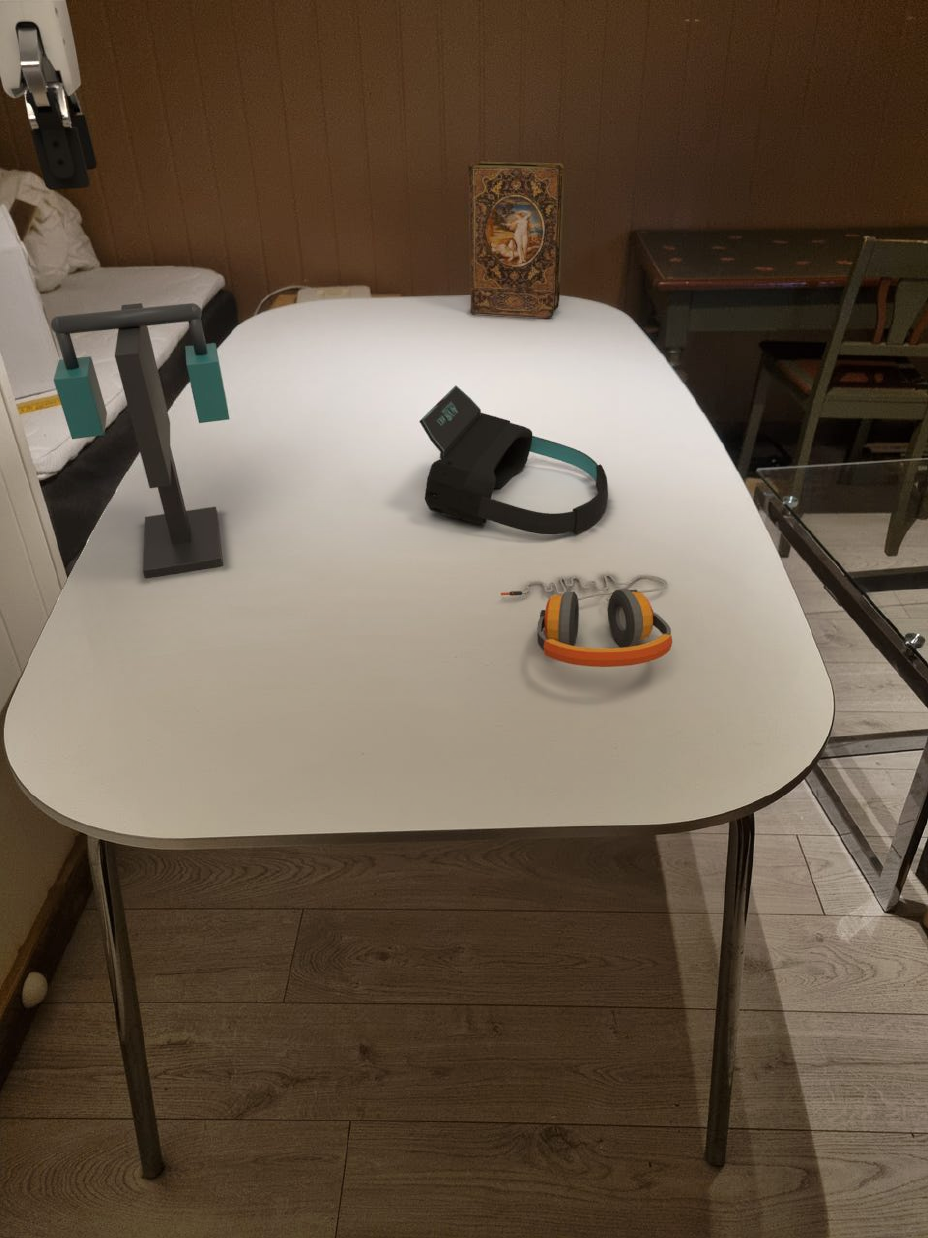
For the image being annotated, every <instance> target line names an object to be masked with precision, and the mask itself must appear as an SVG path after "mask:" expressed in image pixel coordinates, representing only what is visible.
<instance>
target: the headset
mask: <svg viewBox="0 0 928 1238" xmlns="http://www.w3.org/2000/svg"><path fill="white" fill-rule="evenodd" d="M202 314H203V313H202V308H201V307H200V306H199V305H198V304H196V303H193V302H192V303H191V302H190V303H180V304H169V305H162V306H161V305H158V306H150V307H149V306H148V307H143V308H138V309H127V310H121V309H119V310H109V311H98V312H88V313H78V314H77V313H76V314H67V315H58V316H54V317H53V318H52V319H51V320H50V327H51V330H52V331H53V332H54V333H55V337H56V340H57V343H58V346H59V350H60V353H61V357H62V359H61V358H60V359H58V362H57V366H56V369H55V372H54V376H53V384H54V386H55V389H56V393H57V396H58V400H59V402H60V406H61V409H62V412H63V415H64V418H65V421H66V425H67V428H68V430H69V434H70V437H71V439H72V440H78V439H79V440H80V439H86V438H93V437H102V436H103V437H104V436H105V433H106V426H107V425H106V424H107V418H108V410H107V408H106V404H105V401H104V397H103V393H102V390H101V386H100V382H99V380H98V375H97V372H96V369H95V366H94V362H93V358H92V356H91V355H89V356H81V357H77V354H76V351H75V350H76V349H75V348H74V343H73V340H72V337H71V334H80V333H90V332H98V331H111V330H118V329H120V328H130V327H140V326H147V327H149V326H157V325H158V326H159V325H167V324H169V325H170V324H180V323H186V322H187V323H188V328H189V331H190V337H191V340H192V345H185V347H184V349H185V364H186V365H185V366H186V369H187V374H188V379H189V383H190V388H191V392H192V393H191V394H192V398H193V402H194V407H195V411H196V415H197V416H196V417H197V421H198V424H205V423H211V422H221V421H229V420H230V414H229V413H230V412H229V407H228V400H227V396H226V395H227V394H226V390H225V385H224V380H223V373H222V369H221V364H220V359H219V358H220V357H219V354H218V349H217V344H216V342H211V343H210V342H209V343H206V338H205V333H204V328H203V323H202Z"/></svg>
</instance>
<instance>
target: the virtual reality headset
mask: <svg viewBox="0 0 928 1238" xmlns="http://www.w3.org/2000/svg"><path fill="white" fill-rule="evenodd" d="M418 421H419V422H418V423H420V425H421V426H422V428H423V430H424V432H425V433H426V435H427V436H428V438H429V440H430V441H431V443H432V444H433V445H434V446H435V448H437V450H438V451H439V452H440V453H439V459H437V460H435V461H434V462H433V463H432V464H431V466H430V470H429V472H428V474H427V478H426V485H425V493H424V500H425V504H426V506H427V507H428V509H429V511H430V512H431V511H432V512H435V513H438V514H441V515H444V516H447V517H450V518H454V519H457V520H460V521H462V520H463V521H466V522H469V523H472V524H476V525H481V526H482V525H485V524H486V523H487V521H490V522H494V523H496V524H499V525H502V526H506V527H509V528H512V529H515V530H519V531H523V532H526V533H532V534H537V535H548V536H549V535H563V534H570V533H572V534H574V535H576V534H579V533H581V532H584V531H585V530H587V529H590V528H592V527H593V526H595V524H597V523H598V522H599V521H600V520H601V519H602V518H603V515H604V514H605V513H606V509H607V506H608V498H609V485H608V478H607V474H606V471H605V469H604V467H603V465H602V464H598V463H597V462H596V460H594V459H593V458H592V457H591V456H589V455H588V454H586V453H585V452H582V451H581V450H578V449H576V448H574V447H571V446H569V445H565V444H562V443H559V442H555V441H552V440H549V439H546V438H541V437H538V436H536V435H533V431H532V430H531V428H528V427H526V426H523V425H520V424H516V423H513V422H511V420H509V419H505V418H502V417H498V416H495V415H491V414H488V413H484V412H482V409H481V408H480V407H479V405H477V404H476V402H475V401H473V399H472V398H471V397H470V396H469V395H467V394H466V393H465V392H464V391H463V390H462V389H461V388H460V387H459V386H458V385H454V386H453V387H452V388H451V389H450V390H449V391H448V392H447V393H446V394H445V395H444V396H443V397H442V398H441V399H440V400H439V401H438V402H437V403H436V404H435V405H434V406H433V407H431V409H430V410H429V411H428V412H427V413H426V414H425V415H424V416H422V418H421V419H420V420H418ZM530 453H534V454H537V455H540V456H545V457H547V458H550V459H554V460H558V461H560V462H563V463H566V464H569V465H571V466H574V467H576V468H577V469H580V470H582V471H583V472H584V473H586V474H587V475H589V476H590V477H591V478H592V479H593V480H594V481H595V487H596V489H597V494H596V495H595V496H593V497H592V498H591V499H590V500H589V501H587V502H585V503H583V504H580V505H578V506H576V507H574V508H572V511H567V512H559V513H557V512H556V513H549V512H542V511H541V512H539V511H535V510H531V509H526V508H523V507H520V506H515V505H513V504H508V503H505V502H502V501H499V500H496V499H493V498H492V495H493V492H494V490H495V489H497V490H498V489H502V488H504V486H505V485H506V484H507V483H508V482H509V481H510V480H511V479H512V478H513V477H514V476H515V475H517V474H519V473H520V472H522V471H523V470H524V469H525V467H526V464H527V462H528V459H529V455H530Z"/></svg>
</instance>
